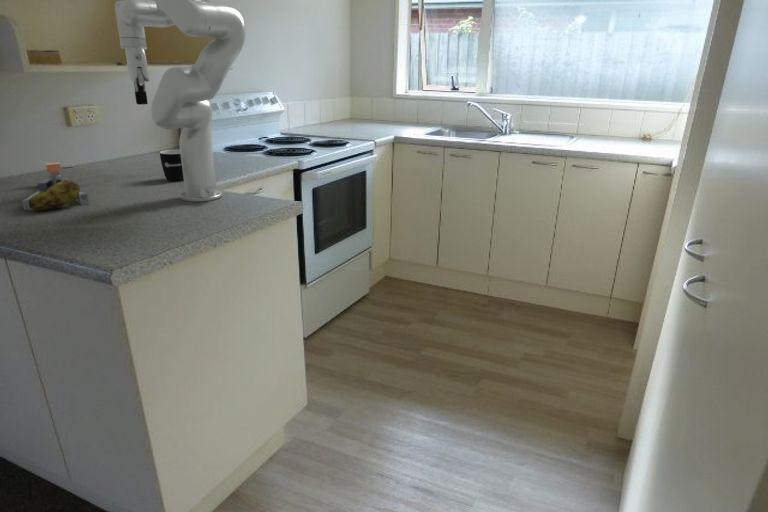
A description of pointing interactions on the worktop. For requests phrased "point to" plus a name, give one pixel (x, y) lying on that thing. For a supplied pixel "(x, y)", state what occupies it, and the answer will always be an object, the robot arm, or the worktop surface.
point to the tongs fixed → (42, 188)
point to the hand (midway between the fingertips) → (142, 104)
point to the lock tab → (53, 167)
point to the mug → (172, 165)
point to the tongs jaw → (82, 196)
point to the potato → (55, 196)
